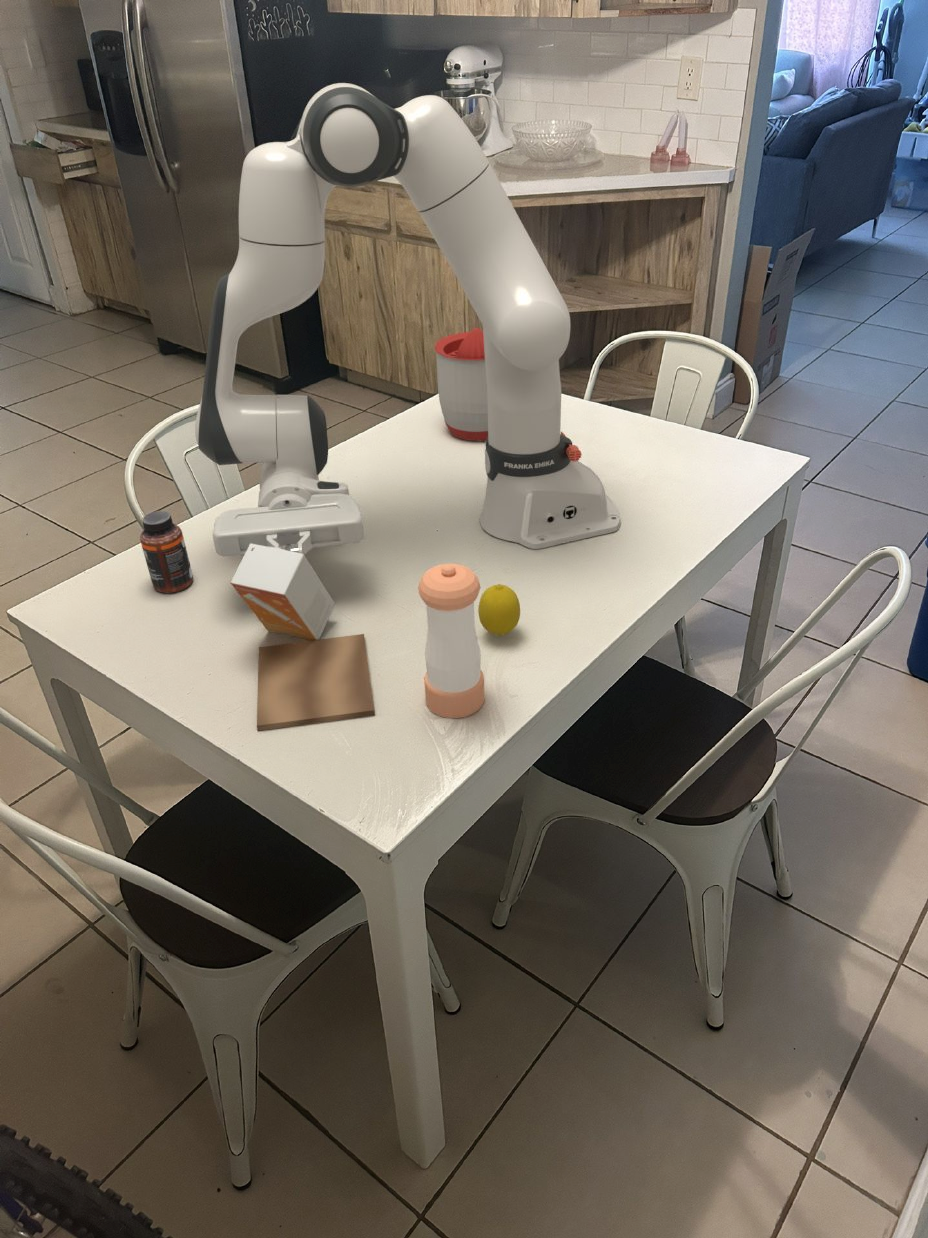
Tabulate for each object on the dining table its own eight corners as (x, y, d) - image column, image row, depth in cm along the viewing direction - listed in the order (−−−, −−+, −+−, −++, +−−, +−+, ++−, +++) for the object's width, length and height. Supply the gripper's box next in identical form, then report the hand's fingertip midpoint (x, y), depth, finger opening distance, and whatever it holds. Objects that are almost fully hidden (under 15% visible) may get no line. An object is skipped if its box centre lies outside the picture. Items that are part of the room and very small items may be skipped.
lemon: (516, 649, 122) (516, 598, 117) (475, 645, 123) (473, 595, 118) (523, 625, 126) (523, 575, 121) (483, 621, 127) (481, 572, 122)
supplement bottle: (201, 576, 139) (186, 510, 133) (179, 597, 135) (162, 529, 128) (168, 570, 141) (151, 504, 134) (145, 591, 136) (126, 524, 130)
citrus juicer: (499, 455, 170) (498, 348, 159) (423, 436, 178) (416, 333, 167) (541, 425, 181) (542, 323, 170) (467, 409, 189) (463, 310, 178)
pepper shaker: (416, 711, 112) (405, 577, 101) (438, 675, 117) (430, 545, 106) (472, 724, 110) (467, 589, 99) (492, 687, 115) (490, 555, 104)
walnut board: (364, 638, 125) (364, 633, 124) (374, 715, 112) (374, 710, 111) (259, 651, 123) (258, 647, 122) (257, 730, 110) (256, 725, 109)
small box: (267, 632, 127) (228, 582, 116) (285, 593, 129) (249, 541, 118) (318, 644, 124) (284, 594, 113) (336, 604, 127) (304, 552, 116)
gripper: (211, 495, 129) (204, 544, 118) (357, 481, 131) (363, 527, 120) (219, 535, 133) (213, 585, 121) (361, 520, 135) (368, 569, 124)
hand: (289, 556), depth 121 cm, fingers closed
